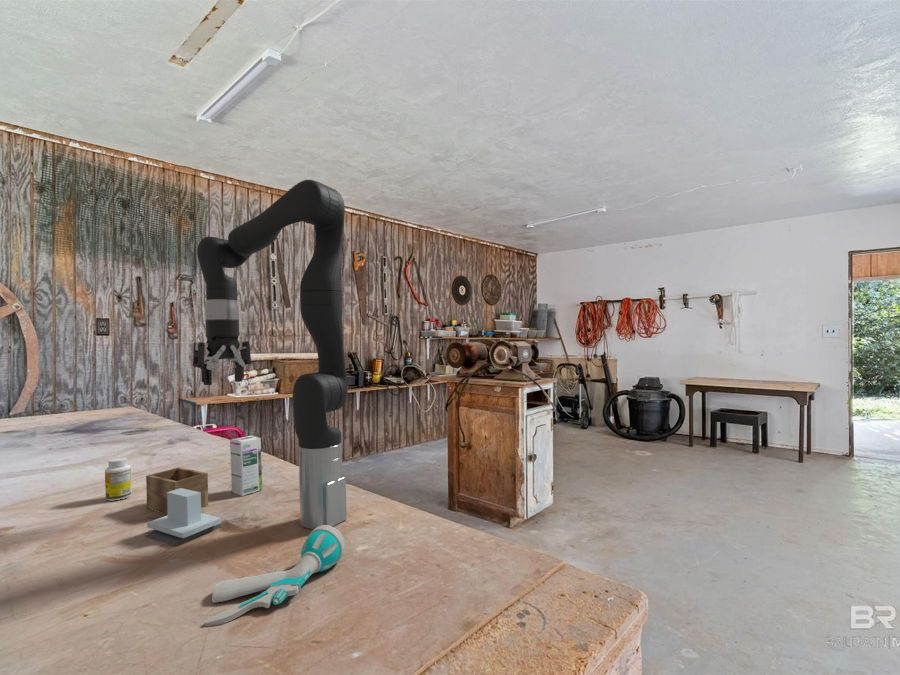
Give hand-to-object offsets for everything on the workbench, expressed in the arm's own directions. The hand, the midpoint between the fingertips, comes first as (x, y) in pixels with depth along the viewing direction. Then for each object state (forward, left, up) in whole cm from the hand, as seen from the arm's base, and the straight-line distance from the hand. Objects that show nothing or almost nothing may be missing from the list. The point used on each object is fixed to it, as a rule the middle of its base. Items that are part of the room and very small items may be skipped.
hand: (223, 383), depth 114 cm
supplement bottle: (+30, +10, -30) cm, 44 cm away
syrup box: (+3, -8, -30) cm, 32 cm away
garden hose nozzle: (-43, +21, -31) cm, 57 cm away
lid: (-7, +15, -30) cm, 34 cm away
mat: (-7, +15, -30) cm, 34 cm away
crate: (+9, +7, -30) cm, 32 cm away
